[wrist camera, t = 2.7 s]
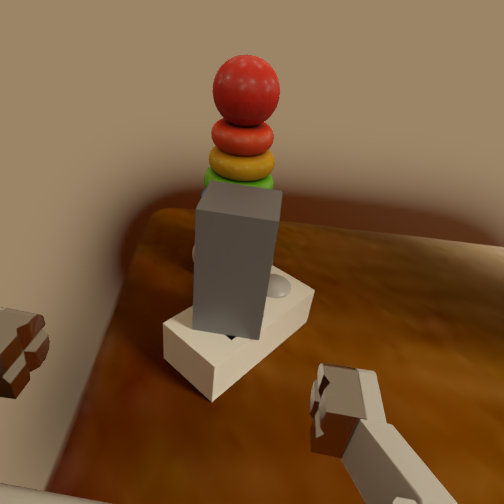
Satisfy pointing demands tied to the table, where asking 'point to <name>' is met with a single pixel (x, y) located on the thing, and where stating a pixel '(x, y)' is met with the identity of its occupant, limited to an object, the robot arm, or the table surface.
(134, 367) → the table surface
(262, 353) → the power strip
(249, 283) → the gray rectangular block
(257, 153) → the stacking toy
